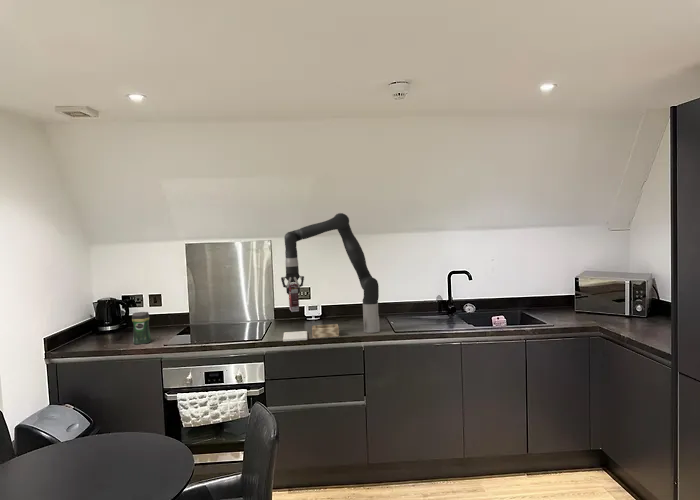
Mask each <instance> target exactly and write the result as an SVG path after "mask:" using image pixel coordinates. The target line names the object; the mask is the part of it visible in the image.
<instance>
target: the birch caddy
mask: <svg viewBox="0 0 700 500" xmlns="http://www.w3.org/2000/svg"><path fill="white" fill-rule="evenodd" d="M311 331H312V339H316V338H331V337H333V338H334V337H339V336H340V328H339V325H338V323H333V324H331V323H330V324H318V325H312V326H311Z"/></svg>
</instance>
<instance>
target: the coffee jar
mask: <svg viewBox="0 0 700 500" xmlns="http://www.w3.org/2000/svg"><path fill="white" fill-rule="evenodd" d="M150 319H151V318H150V314H149V312H148V311H139V312H138V311H137V312H134V313H133V312H132V315H131V321H132V324H133V344H134V345H144V344H148V343H149V342H150V343H151V342H152V336H151V332H150Z"/></svg>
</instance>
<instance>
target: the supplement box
mask: <svg viewBox="0 0 700 500" xmlns="http://www.w3.org/2000/svg"><path fill="white" fill-rule="evenodd" d="M288 288H289V294H288V304H289V305H288V306H289V310H290V311H291V313H293V312H300V298H299V294H298V284H296V282H295V283H294V282H292V283H290V284H289V287H288Z"/></svg>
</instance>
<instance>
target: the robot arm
mask: <svg viewBox="0 0 700 500" xmlns="http://www.w3.org/2000/svg"><path fill="white" fill-rule="evenodd" d="M335 230H337V232H338V233H339V236H340V237H341V239H342V243H343V247H344V249H345V252H346V254H347V257H348V259H349V261H350V263H351V265H352V266H353V268H354V271H355V272H356V274H357V278H358V281H359V283H360V288H361V289H362V290H363V299H362V316H363V317H362V318H363V320H362V321H363V332H364V333H368V334H370V333H371V334H372V333H373V334H374V333H378V332H379V333H380V332H381V331H380V329H381V327H380V316H379V294H380V293H379V292H380V291H379V290H380V288H379V286H380V285H379V282H378V280H377V279H376V278H375V277H373V276H372V274H371V272H370V271H369V269H368V266H367V262H366V261H367V260H366V257H365V253H364V251H363V248H362V246H361V245H360V243H359V241H358V239H357V238H356V236H355V234H354V233H353V231H352V227H351V226H350V218H349V216H348V215H346V214H345V213H343V212H342V213H341V212H339V213H336V214H335V215H334V216H333V217H332V218H330V219H327V220H325V221H324V220H323V221H321V222H318V223H312V224H309V225H307V226H303V227H301V228H298V229H295V230H294V229H293V230H291V231H288V232H286V233H285V234H284V246H285V261H284V262H285V263H284V264H285V276H282V277H281V278H280V280H281V282H282V286H283V288H286V294H287V295H289V288H288V287H289V284H290V283H296V284H298V295H299V294H300V292H301V287H303V286H304V280H305V276H303V275H300V271H299V258H298V250H297V242H300V241H302V240H306V239H309V238H313V237H317V236H319V235H321V234H324V233H326V232H331V231H335ZM299 279H300V280H301V281H300V282H299V281H298V280H299ZM285 281H287V284H285Z"/></svg>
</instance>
